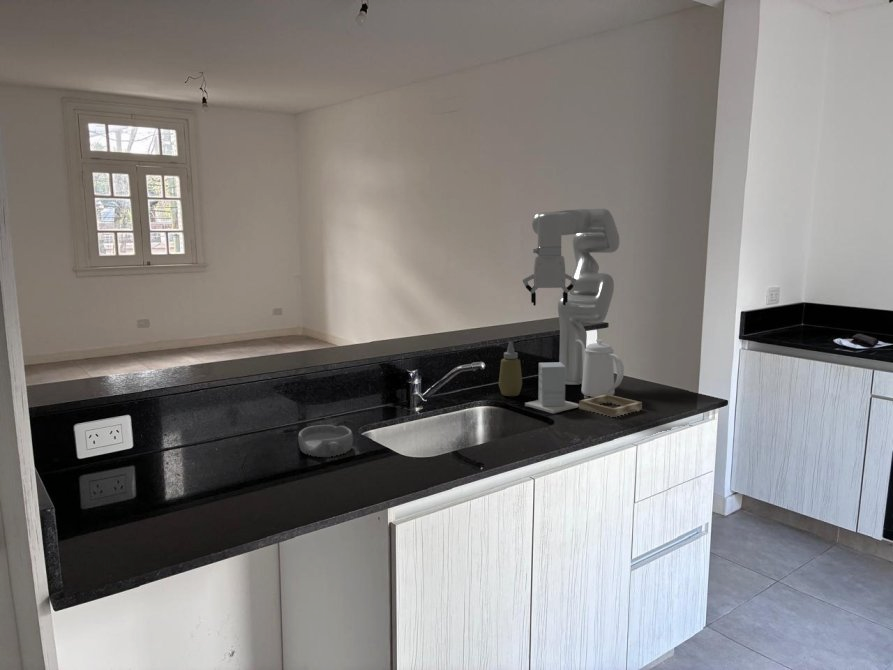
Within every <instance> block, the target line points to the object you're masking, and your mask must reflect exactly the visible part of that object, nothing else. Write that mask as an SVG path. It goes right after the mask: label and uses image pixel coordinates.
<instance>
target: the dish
mask: <svg viewBox="0 0 893 670" xmlns="http://www.w3.org/2000/svg"><path fill="white" fill-rule="evenodd" d="M297 439H298V440H297V441H298V445H299V446H298V447H299V448H300V451H301V452H302V453H303V454H305V455H307V454H308V455H307V456H310V455H311V457H315V456H316V458H331V456H333V457H337V456H336V455H338V456H341V455H344V454H346V453H348V452H349V451H351V449H352V448H353V443H354V442H353V441H354V440H353V439H354V437H353V432H352V430H351V429H350V428H348V427H347V426H345V425H339V426H335V425H333V424H320V425H319V424H318V425H310V426H306V427H304V428H302V429H301V430H300V431H299V432H298V437H297ZM347 451H348V452H347ZM343 453H344V454H343ZM340 454H341V455H340Z"/></svg>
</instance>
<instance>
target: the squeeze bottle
mask: <svg viewBox="0 0 893 670" xmlns="http://www.w3.org/2000/svg"><path fill="white" fill-rule="evenodd" d="M518 356H519V353H518V352H515V348H514V342H513V341H509V342H508V346H507V350H506V351H505V352H503V358H502V359H501V360H500V367H499V376H498V377H499V378H498V387H499V390H500V393H501V396H506V397H516V396H519V395H520V392H521V390H522V386H523V376H522V366H521V359H519V358H518Z"/></svg>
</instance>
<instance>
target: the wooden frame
mask: <svg viewBox="0 0 893 670" xmlns="http://www.w3.org/2000/svg"><path fill="white" fill-rule="evenodd" d="M607 402H608V403H607ZM603 403H605V404H610V403H612V404H611V405H614V404H616V405H615V406H617V407H611V406H606V405H604V404H603ZM578 404H579V407H578V409H579V410H584V411H586V412H590V411H591V413H593V412H595V413H594V414H597V413H599V414H598V415H601V414H603V415H602V416H605V415H607V416H606V417H608V416H610V418H612V417H616V418H618V417H617V416H619V417H621V416H620V415H623V416H625V415H624V414H626V415H629V414H628V413H630V414H632V413H631V412H634V413H636V412H635V411H637V412H641V411H642V409H643V402H642V401H638V400H635V399H634V400H633V399H629V398H625V397H621V396H616V395H609V394H605V395H601V396H597V397H589V398H586V399H585V398H584V399H581V400H579V401H578ZM600 404H601V405H600ZM618 405H620V406H618ZM640 410H641V411H640Z"/></svg>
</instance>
